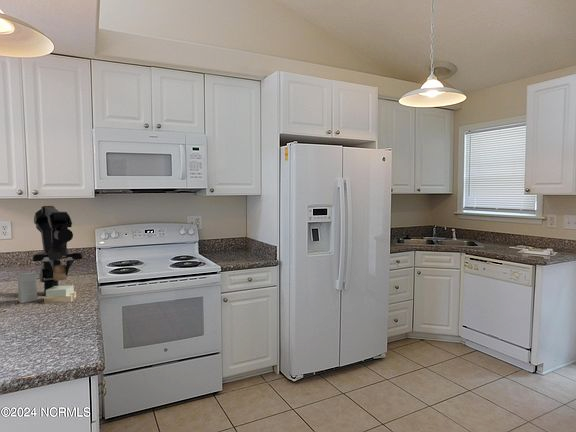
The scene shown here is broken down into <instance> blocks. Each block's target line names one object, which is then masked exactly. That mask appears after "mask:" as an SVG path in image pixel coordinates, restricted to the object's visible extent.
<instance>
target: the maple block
mask: <svg viewBox="0 0 576 432" xmlns="http://www.w3.org/2000/svg"><path fill="white" fill-rule="evenodd" d="M76 297H77V290H74V292H73V293H71V294H69V295H68V296H65V297H46V296H45V297H44V298H43V299H44V304H45V305H48V304H59V303H60V304H61V303H71V302H73V300H75V298H76Z"/></svg>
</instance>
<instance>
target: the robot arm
mask: <svg viewBox="0 0 576 432" xmlns="http://www.w3.org/2000/svg"><path fill="white" fill-rule="evenodd" d="M33 223H34V224H35V228H36V229H37V231H38V232H39V233H40V235H41V242H42V250H43V251H42V252H37V253H36V254H33V256H32V262H41V263H42V266H41V269H40V272H39V277H38V278H39V279H38V280H39V282H40V283H43V293H42V294H41V296H46V290H47V289H49V288H51V287H54V286H59V281H55V280H53V266H55V265H62V263H61V259H66V260H65V262H66V264H65V265H66V276H67V277H68V275H69V273H70V270H71V267H72V265H73V263H74V262H76V261H78V260H83V259H85V252H84V251H74V252H72V253H69V252H68V251H69V250H68V243H69V242H71V240H73V238H74V233H73V231H72V230H71V229H69V228H72V226H73V222H72V218H71V216H70V215H69V213H68V211H60V210H58V209H57V208H56V207H55V206H54V205H43V206H41V208H40V209H39V210H37V211H36V212H35V213H34V217H33Z"/></svg>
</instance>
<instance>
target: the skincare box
mask: <svg viewBox="0 0 576 432" xmlns="http://www.w3.org/2000/svg"><path fill="white" fill-rule="evenodd" d="M37 280H38V279H37V273H36V272H34V271H32V272H26V273H19V274H17V289H18V291H17V294H18V295H17V297H18V302H19V303H21V304H24V303H30V302H34V301H35V302H36V301H38V283H37V282H38V281H37Z"/></svg>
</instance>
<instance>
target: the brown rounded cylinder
mask: <svg viewBox="0 0 576 432" xmlns="http://www.w3.org/2000/svg"><path fill="white" fill-rule="evenodd" d="M66 265H67V264H61V265H55V266H53V280H55V281H58V282H59V281H65V280H67V279H68V278H67V277H68V275H67V276H66Z"/></svg>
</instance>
